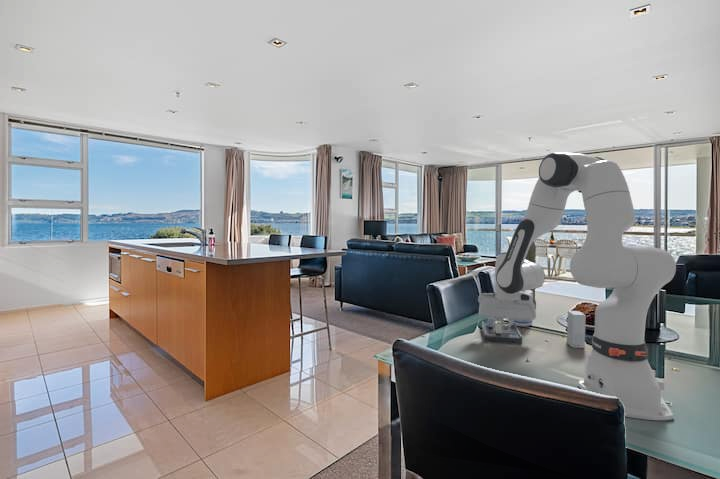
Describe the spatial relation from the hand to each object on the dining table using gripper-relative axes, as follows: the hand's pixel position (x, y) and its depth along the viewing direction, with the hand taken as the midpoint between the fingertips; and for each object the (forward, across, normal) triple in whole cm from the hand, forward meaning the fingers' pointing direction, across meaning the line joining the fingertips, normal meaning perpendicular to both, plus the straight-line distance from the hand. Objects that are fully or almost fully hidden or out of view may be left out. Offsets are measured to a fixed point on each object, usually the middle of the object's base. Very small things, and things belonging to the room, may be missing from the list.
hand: (506, 329), depth 145 cm
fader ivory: (+1, -3, 0) cm, 3 cm away
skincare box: (+4, +23, -2) cm, 24 cm away
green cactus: (+4, +14, +41) cm, 43 cm away
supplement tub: (+4, +8, +22) cm, 24 cm away
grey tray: (+4, -2, +4) cm, 5 cm away
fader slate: (+1, -5, +8) cm, 9 cm away
